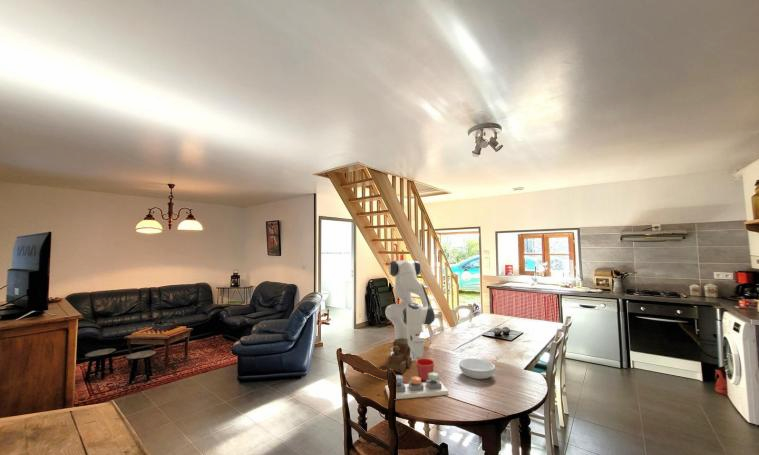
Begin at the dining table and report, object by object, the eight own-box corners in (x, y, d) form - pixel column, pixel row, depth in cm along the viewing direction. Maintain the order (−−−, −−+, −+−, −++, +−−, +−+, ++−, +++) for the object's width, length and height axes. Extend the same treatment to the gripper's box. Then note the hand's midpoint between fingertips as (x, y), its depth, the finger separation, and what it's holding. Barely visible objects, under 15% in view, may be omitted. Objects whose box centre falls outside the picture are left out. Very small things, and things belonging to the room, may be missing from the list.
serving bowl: (498, 384, 173) (497, 372, 174) (460, 381, 177) (459, 369, 178) (492, 370, 194) (491, 359, 194) (458, 368, 198) (458, 357, 198)
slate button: (391, 383, 167) (391, 375, 167) (401, 383, 168) (401, 374, 168) (393, 388, 161) (393, 379, 162) (404, 387, 162) (403, 378, 163)
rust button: (409, 385, 168) (409, 376, 169) (419, 384, 169) (419, 376, 169) (412, 389, 163) (412, 381, 163) (422, 389, 164) (422, 380, 164)
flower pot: (420, 383, 176) (420, 366, 177) (413, 375, 187) (413, 359, 188) (437, 380, 179) (437, 363, 180) (429, 373, 190) (429, 357, 190)
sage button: (427, 381, 170) (426, 372, 170) (436, 380, 171) (436, 372, 171) (430, 385, 164) (430, 376, 165) (440, 384, 165) (439, 376, 165)
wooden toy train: (398, 362, 209) (397, 337, 211) (413, 365, 204) (413, 339, 205) (385, 373, 192) (384, 345, 193) (401, 376, 187) (401, 348, 188)
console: (385, 389, 169) (385, 380, 170) (440, 384, 174) (440, 376, 174) (389, 399, 158) (388, 390, 158) (448, 394, 162) (447, 385, 162)
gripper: (404, 329, 178) (405, 353, 177) (413, 339, 158) (414, 367, 157) (415, 328, 179) (415, 352, 178) (425, 339, 158) (425, 366, 158)
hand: (415, 359), depth 167 cm, fingers closed
